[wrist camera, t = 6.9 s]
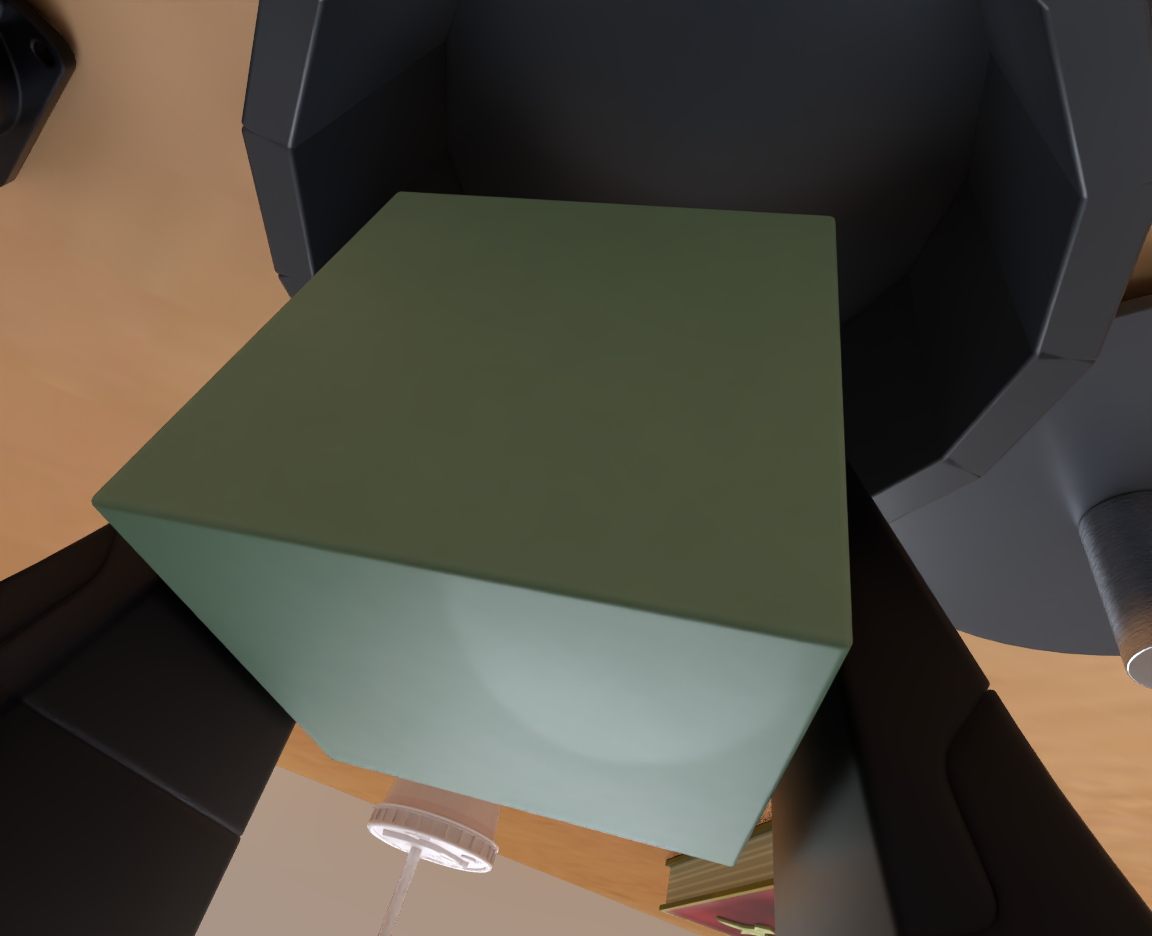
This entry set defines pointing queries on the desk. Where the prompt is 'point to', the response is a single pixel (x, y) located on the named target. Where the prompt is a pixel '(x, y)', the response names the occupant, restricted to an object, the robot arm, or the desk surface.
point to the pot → (765, 167)
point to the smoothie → (433, 833)
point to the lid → (1059, 520)
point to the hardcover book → (726, 889)
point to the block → (531, 507)
